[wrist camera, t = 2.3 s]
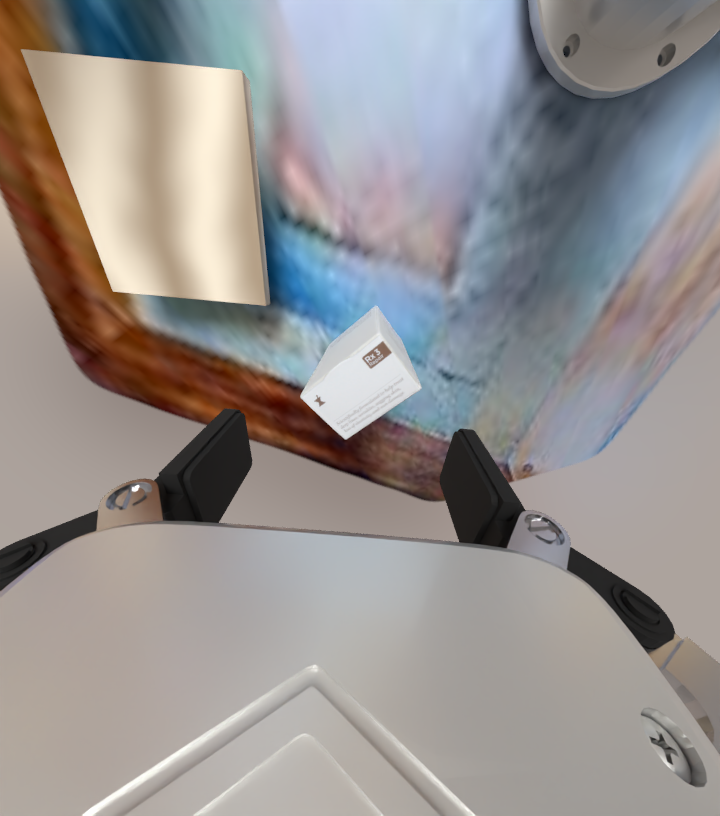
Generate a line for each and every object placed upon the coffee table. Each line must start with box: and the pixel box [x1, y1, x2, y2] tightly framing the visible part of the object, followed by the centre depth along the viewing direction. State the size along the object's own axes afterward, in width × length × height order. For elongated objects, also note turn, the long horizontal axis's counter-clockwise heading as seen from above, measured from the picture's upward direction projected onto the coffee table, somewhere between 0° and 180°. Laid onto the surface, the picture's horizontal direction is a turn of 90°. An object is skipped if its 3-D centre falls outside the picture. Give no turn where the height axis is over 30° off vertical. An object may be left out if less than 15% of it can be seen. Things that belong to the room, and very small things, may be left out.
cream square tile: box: [21, 49, 270, 306], centre depth 18 cm, size 12×12×4 cm
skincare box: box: [301, 306, 422, 439], centre depth 20 cm, size 6×4×12 cm
